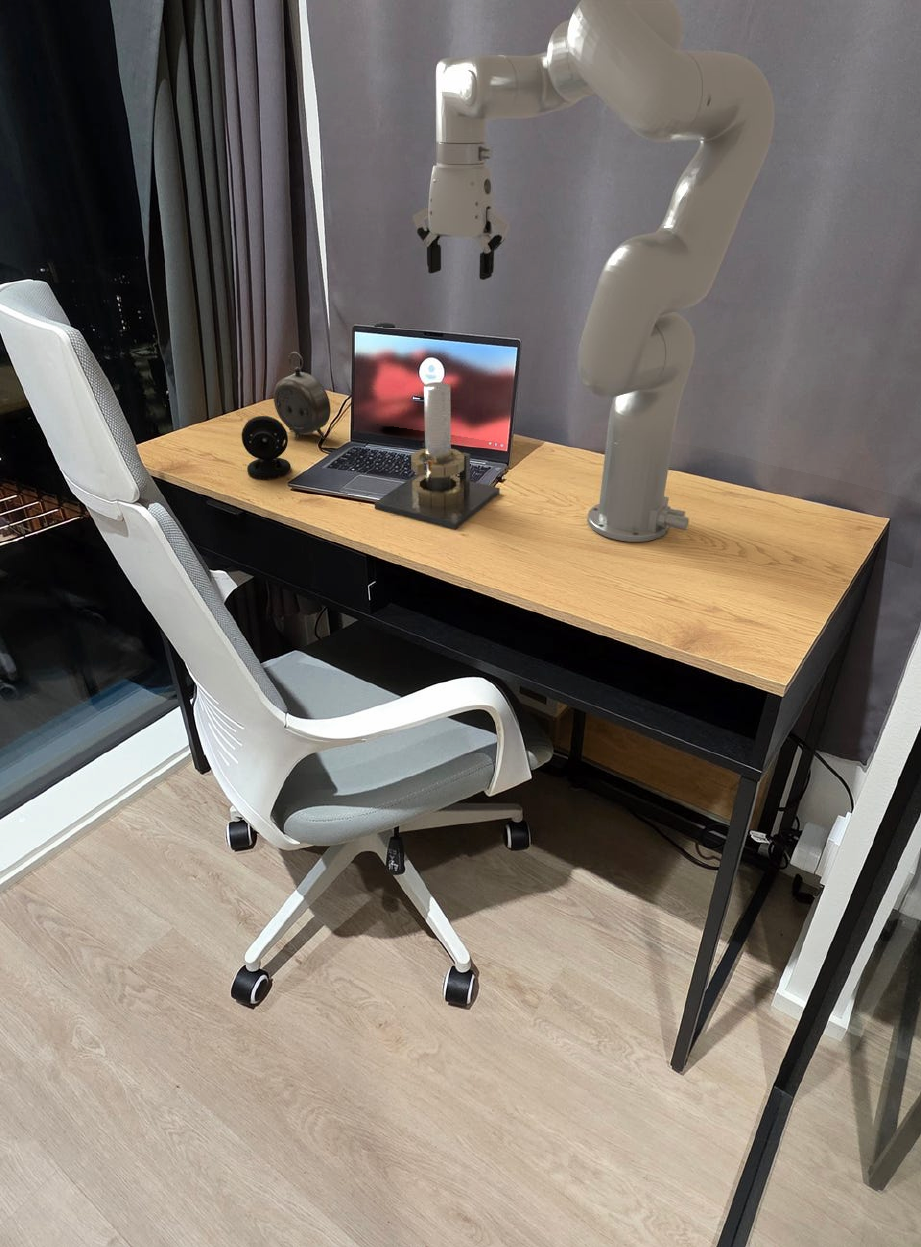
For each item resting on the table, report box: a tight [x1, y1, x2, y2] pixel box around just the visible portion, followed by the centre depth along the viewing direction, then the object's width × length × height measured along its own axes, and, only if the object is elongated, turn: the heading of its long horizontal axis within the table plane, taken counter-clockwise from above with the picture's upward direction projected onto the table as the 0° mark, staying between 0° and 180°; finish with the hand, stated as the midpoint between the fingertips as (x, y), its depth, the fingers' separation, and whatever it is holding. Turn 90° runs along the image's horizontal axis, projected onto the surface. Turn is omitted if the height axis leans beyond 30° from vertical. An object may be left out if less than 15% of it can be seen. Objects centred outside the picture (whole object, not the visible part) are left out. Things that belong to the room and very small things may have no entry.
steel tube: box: [423, 381, 452, 492], centre depth 125 cm, size 4×4×18 cm
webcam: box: [241, 415, 292, 480], centre depth 137 cm, size 8×8×10 cm
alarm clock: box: [273, 351, 332, 441], centre depth 149 cm, size 11×5×16 cm, turn 58°
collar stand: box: [374, 448, 501, 531], centre depth 128 cm, size 15×15×8 cm
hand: (459, 275), depth 132 cm, fingers open, 9 cm apart
